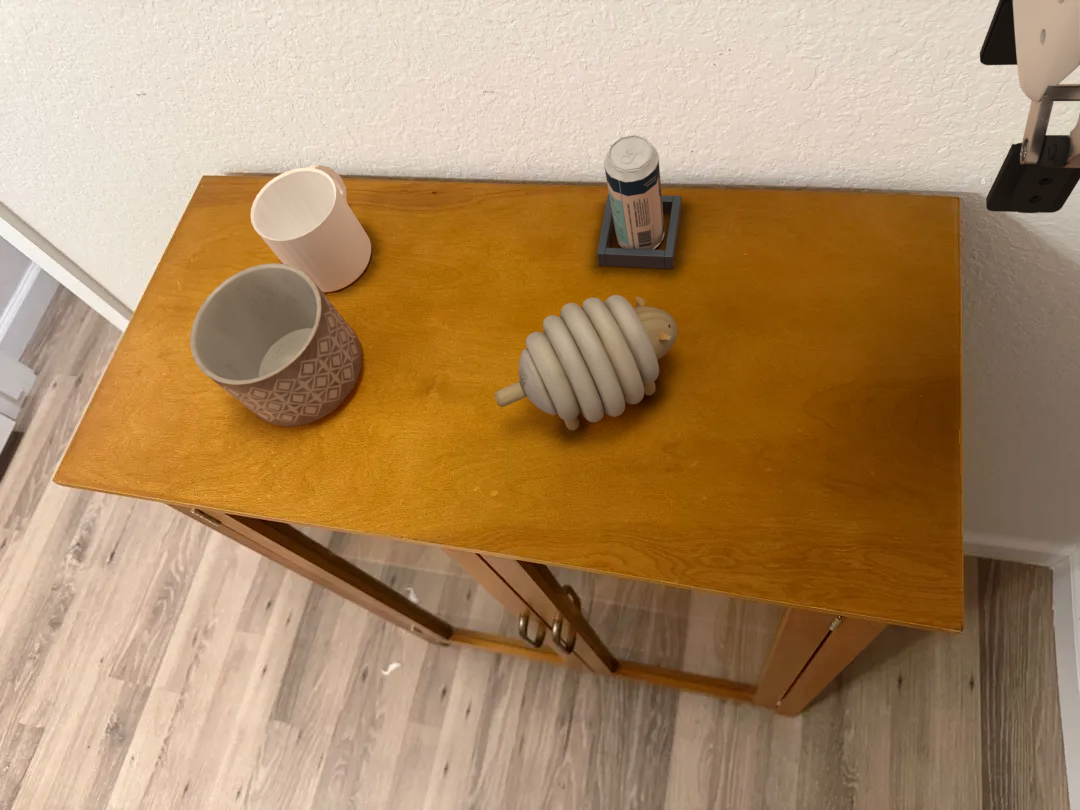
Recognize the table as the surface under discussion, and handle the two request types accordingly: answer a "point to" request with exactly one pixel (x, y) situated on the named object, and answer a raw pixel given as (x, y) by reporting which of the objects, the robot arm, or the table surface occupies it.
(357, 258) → the mug
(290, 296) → the planter
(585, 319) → the toy sheep
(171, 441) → the table surface
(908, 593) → the table surface
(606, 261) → the holder
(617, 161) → the beer can
